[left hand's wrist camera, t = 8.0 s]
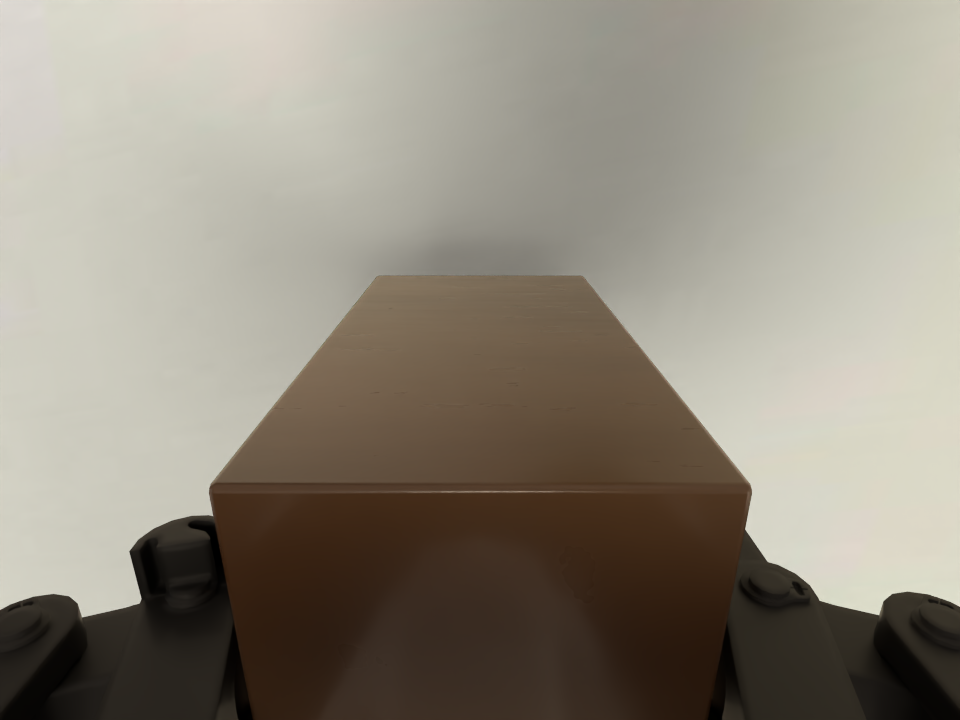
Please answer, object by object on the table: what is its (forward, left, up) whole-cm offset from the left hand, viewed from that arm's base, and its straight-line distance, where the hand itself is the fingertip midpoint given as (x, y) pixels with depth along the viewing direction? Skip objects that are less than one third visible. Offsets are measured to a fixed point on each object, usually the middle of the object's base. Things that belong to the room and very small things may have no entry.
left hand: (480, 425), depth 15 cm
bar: (+7, +7, -1) cm, 10 cm away
